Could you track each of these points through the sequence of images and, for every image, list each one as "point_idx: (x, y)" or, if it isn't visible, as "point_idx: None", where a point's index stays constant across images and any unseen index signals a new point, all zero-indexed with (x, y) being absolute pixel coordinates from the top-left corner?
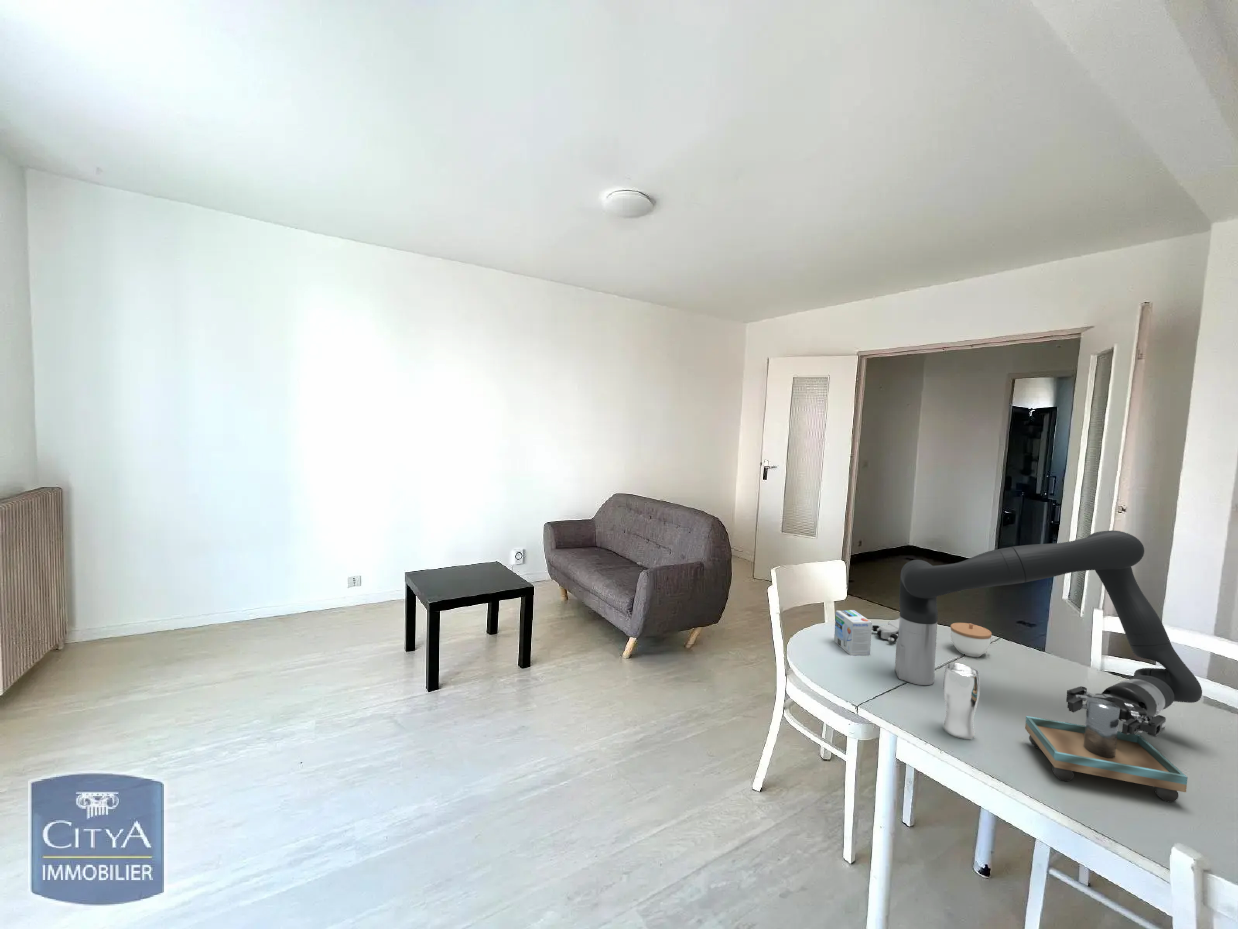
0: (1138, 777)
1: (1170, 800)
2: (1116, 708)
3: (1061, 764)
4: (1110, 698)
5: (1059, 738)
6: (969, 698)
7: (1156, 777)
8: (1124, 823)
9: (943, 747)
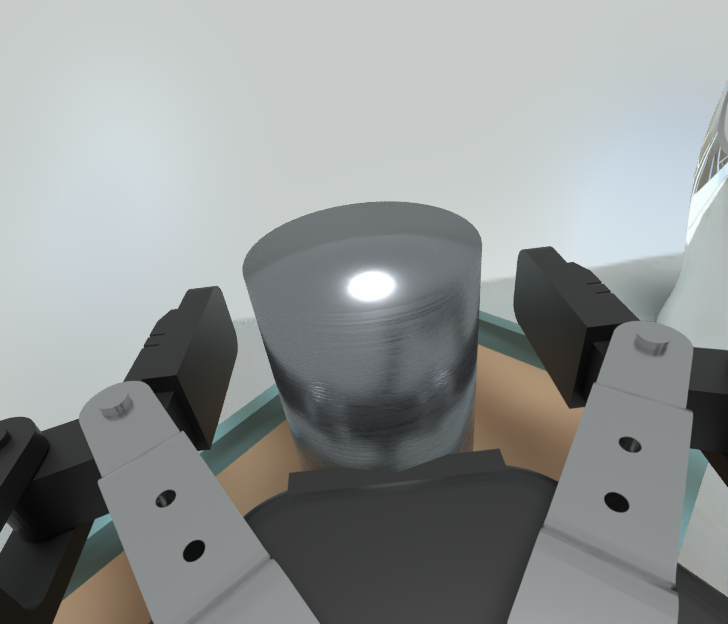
0: None
1: None
2: (265, 265)
3: None
4: (523, 589)
5: (536, 438)
6: (696, 166)
7: None
8: (236, 377)
9: (603, 267)
